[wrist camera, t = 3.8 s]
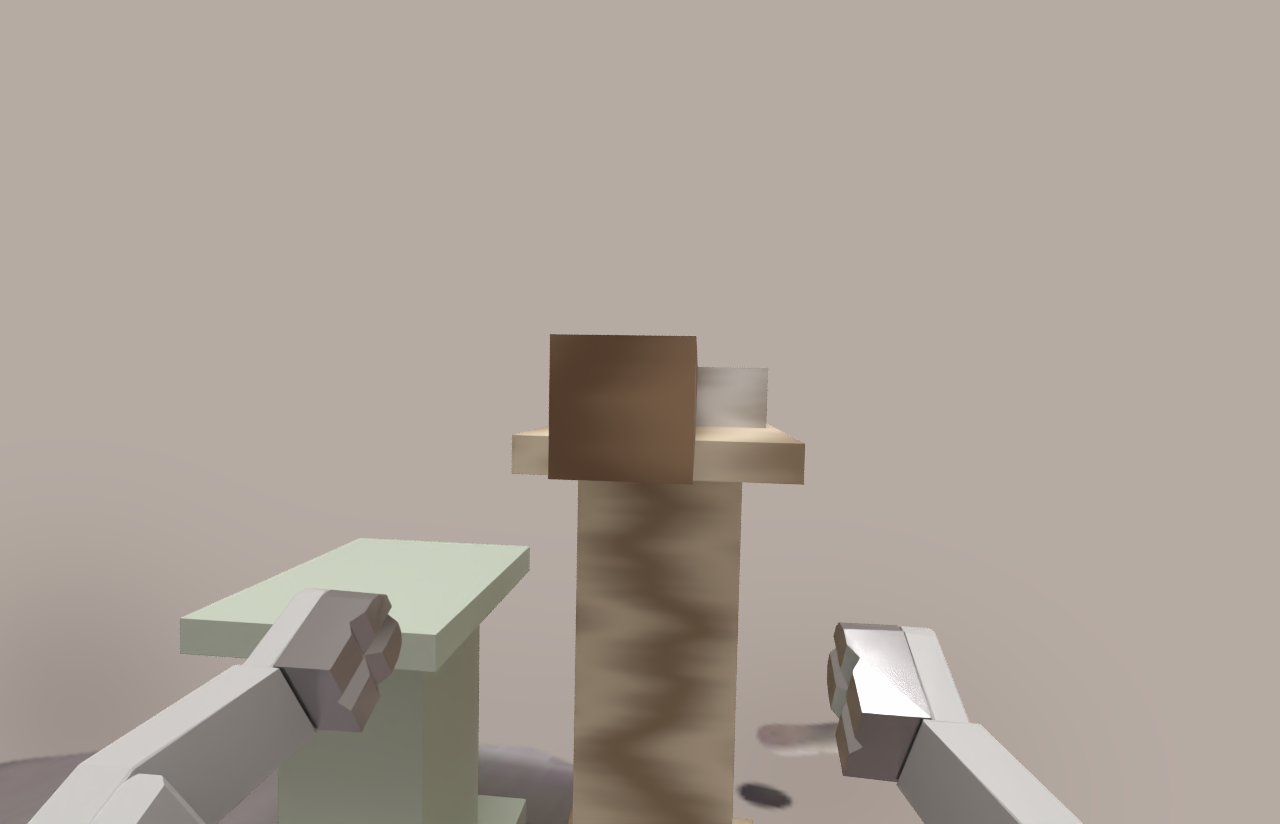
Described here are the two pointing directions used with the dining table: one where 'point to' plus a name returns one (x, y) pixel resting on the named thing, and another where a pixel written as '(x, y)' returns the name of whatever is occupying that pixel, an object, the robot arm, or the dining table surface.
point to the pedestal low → (388, 683)
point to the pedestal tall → (661, 629)
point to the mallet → (640, 406)
